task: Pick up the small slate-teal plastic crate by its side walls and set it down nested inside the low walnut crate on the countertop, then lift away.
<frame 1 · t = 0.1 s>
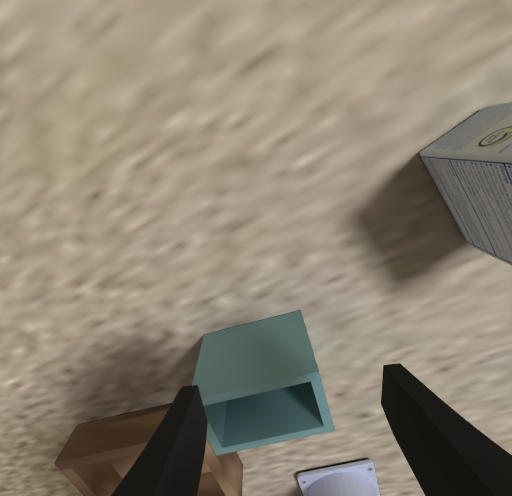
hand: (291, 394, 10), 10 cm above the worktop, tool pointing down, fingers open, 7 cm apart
medicine box: (469, 180, 17), on the worktop
walnut crate: (164, 445, 26), on the worktop
teal crate: (260, 347, 22), on the worktop
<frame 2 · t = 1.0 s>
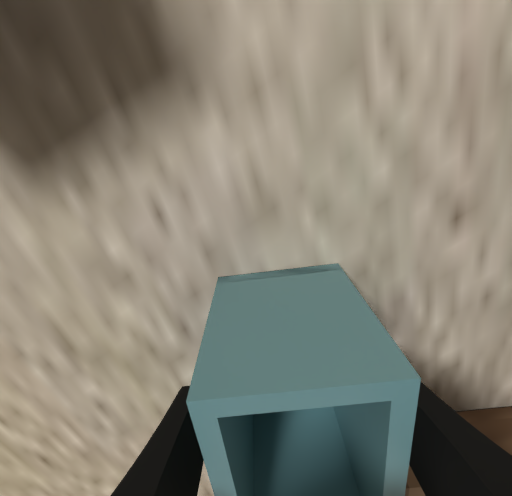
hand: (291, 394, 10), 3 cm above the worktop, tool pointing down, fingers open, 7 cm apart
walnut crate: (439, 482, 17), on the worktop
teal crate: (285, 343, 13), on the worktop
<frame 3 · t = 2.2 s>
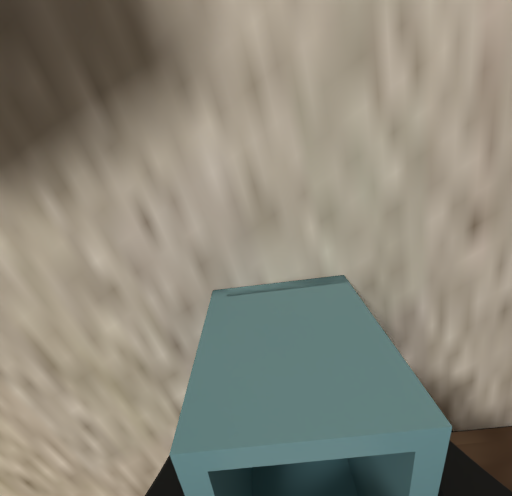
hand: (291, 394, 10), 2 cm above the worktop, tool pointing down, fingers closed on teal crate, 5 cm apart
teal crate: (286, 360, 12), on the worktop, touching gripper
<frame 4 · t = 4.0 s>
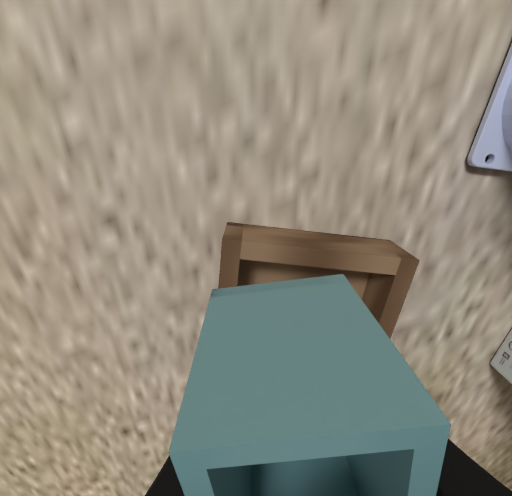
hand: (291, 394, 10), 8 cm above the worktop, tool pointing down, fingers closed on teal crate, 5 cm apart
walnut crate: (292, 316, 19), on the worktop
teal crate: (285, 359, 12), point 7 cm above the worktop, touching gripper
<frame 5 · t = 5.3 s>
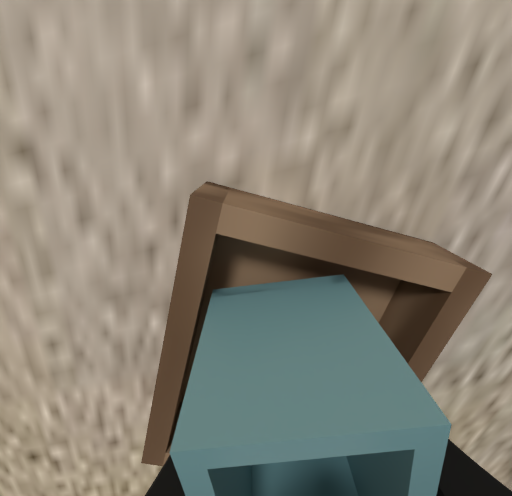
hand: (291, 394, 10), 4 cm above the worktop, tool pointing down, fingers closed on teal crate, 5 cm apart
walnut crate: (281, 331, 14), on the worktop
teal crate: (285, 359, 12), point 2 cm above the worktop, touching gripper
when the fingers open (4 cm above the worktop, at t = 6.1 s): teal crate drops 1 cm, resting on walnut crate.
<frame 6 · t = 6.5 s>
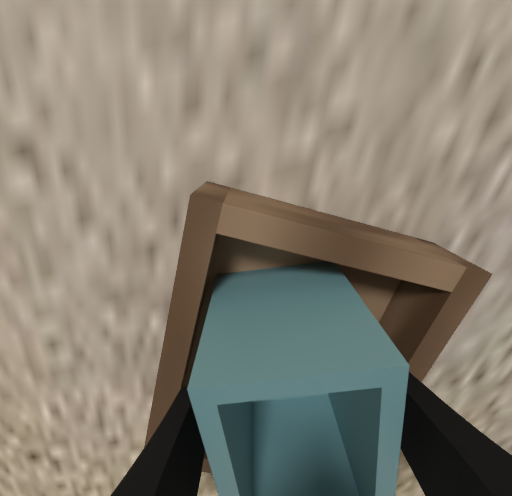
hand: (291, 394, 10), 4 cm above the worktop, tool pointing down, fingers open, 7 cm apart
walnut crate: (281, 331, 14), on the worktop, touching teal crate
teal crate: (283, 339, 13), point 1 cm above the worktop, touching walnut crate
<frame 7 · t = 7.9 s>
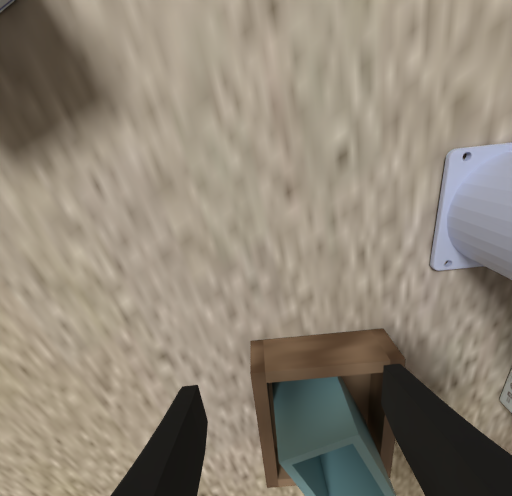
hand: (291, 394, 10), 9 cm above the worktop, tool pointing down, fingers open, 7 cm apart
walnut crate: (318, 394, 23), on the worktop, touching teal crate
teal crate: (319, 400, 23), point 1 cm above the worktop, touching walnut crate
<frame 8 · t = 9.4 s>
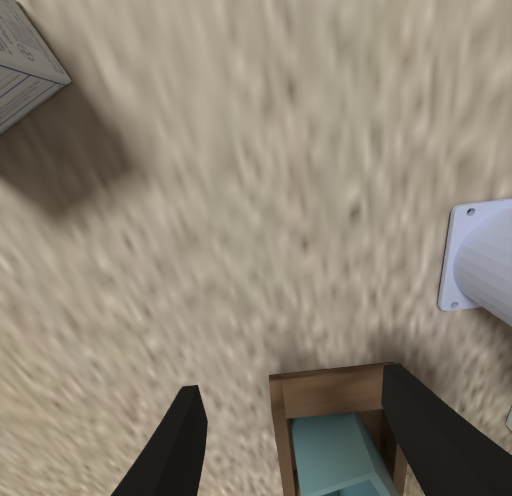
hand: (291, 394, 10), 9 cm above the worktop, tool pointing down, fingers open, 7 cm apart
walnut crate: (332, 421, 25), on the worktop, touching teal crate
teal crate: (334, 428, 24), point 1 cm above the worktop, touching walnut crate
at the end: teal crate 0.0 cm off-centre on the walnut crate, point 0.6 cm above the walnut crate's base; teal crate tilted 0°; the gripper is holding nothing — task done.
